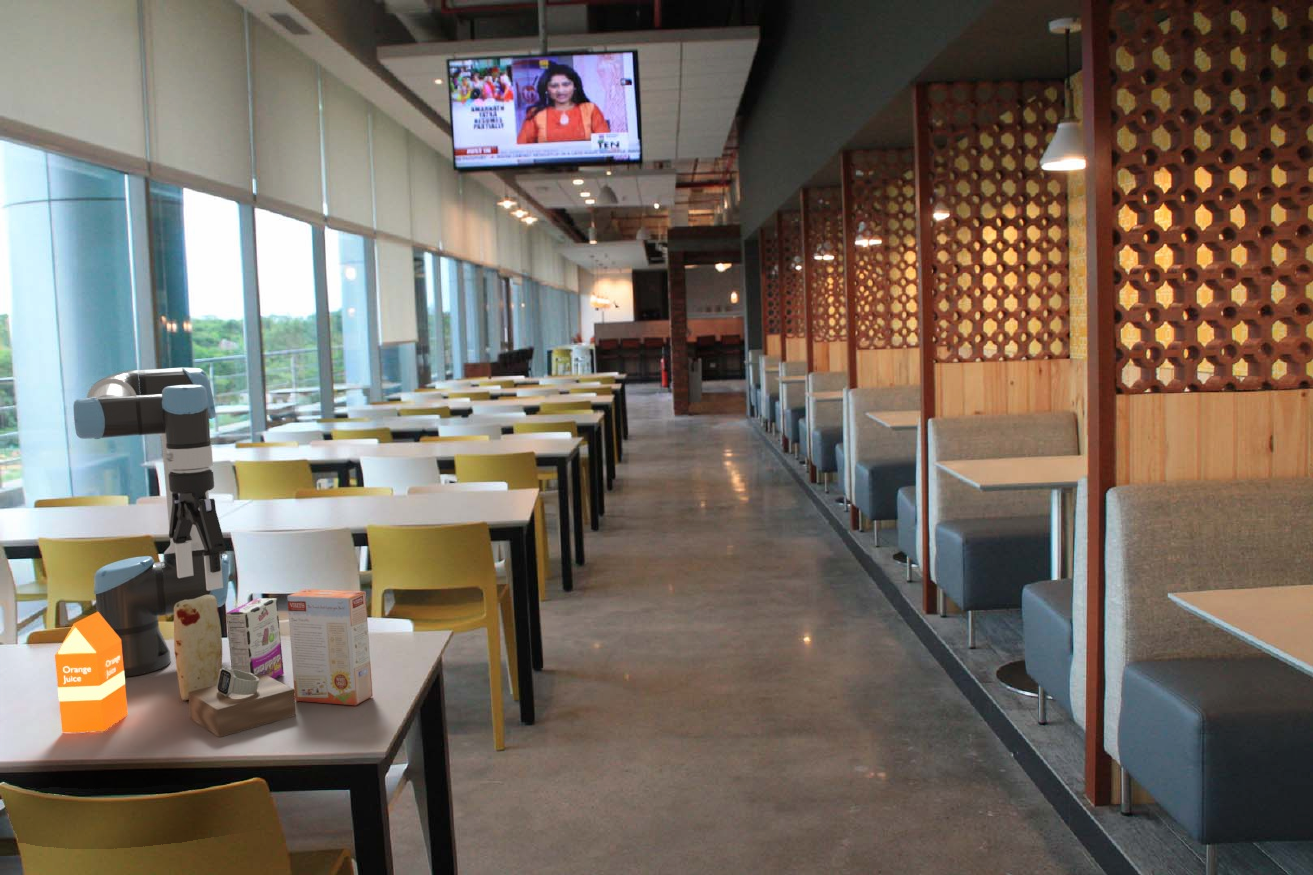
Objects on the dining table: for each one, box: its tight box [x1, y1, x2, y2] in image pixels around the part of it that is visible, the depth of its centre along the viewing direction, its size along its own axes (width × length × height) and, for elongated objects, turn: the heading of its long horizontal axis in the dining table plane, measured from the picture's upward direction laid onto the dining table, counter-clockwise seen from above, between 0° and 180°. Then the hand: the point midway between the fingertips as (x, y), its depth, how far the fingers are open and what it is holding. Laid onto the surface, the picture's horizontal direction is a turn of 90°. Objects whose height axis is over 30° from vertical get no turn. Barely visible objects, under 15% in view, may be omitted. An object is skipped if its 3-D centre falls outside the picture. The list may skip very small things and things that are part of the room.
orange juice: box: [54, 611, 129, 733], centre depth 193 cm, size 8×9×20 cm
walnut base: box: [188, 673, 297, 738], centre depth 194 cm, size 14×14×5 cm
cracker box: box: [286, 588, 373, 706], centre depth 201 cm, size 14×6×21 cm, turn 71°
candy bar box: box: [225, 597, 285, 680], centre depth 212 cm, size 11×5×16 cm, turn 169°
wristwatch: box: [216, 666, 259, 697], centre depth 193 cm, size 9×6×5 cm
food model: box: [173, 595, 223, 701], centre depth 206 cm, size 10×7×20 cm
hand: (199, 582), depth 195 cm, fingers open, 13 cm apart
